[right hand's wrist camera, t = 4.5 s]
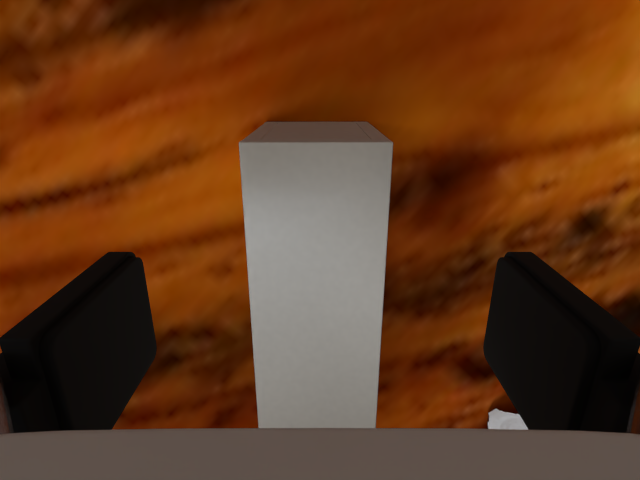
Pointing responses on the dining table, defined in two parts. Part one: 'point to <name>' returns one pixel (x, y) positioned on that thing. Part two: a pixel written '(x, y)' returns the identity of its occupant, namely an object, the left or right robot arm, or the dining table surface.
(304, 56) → the dining table surface
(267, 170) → the cabinet
